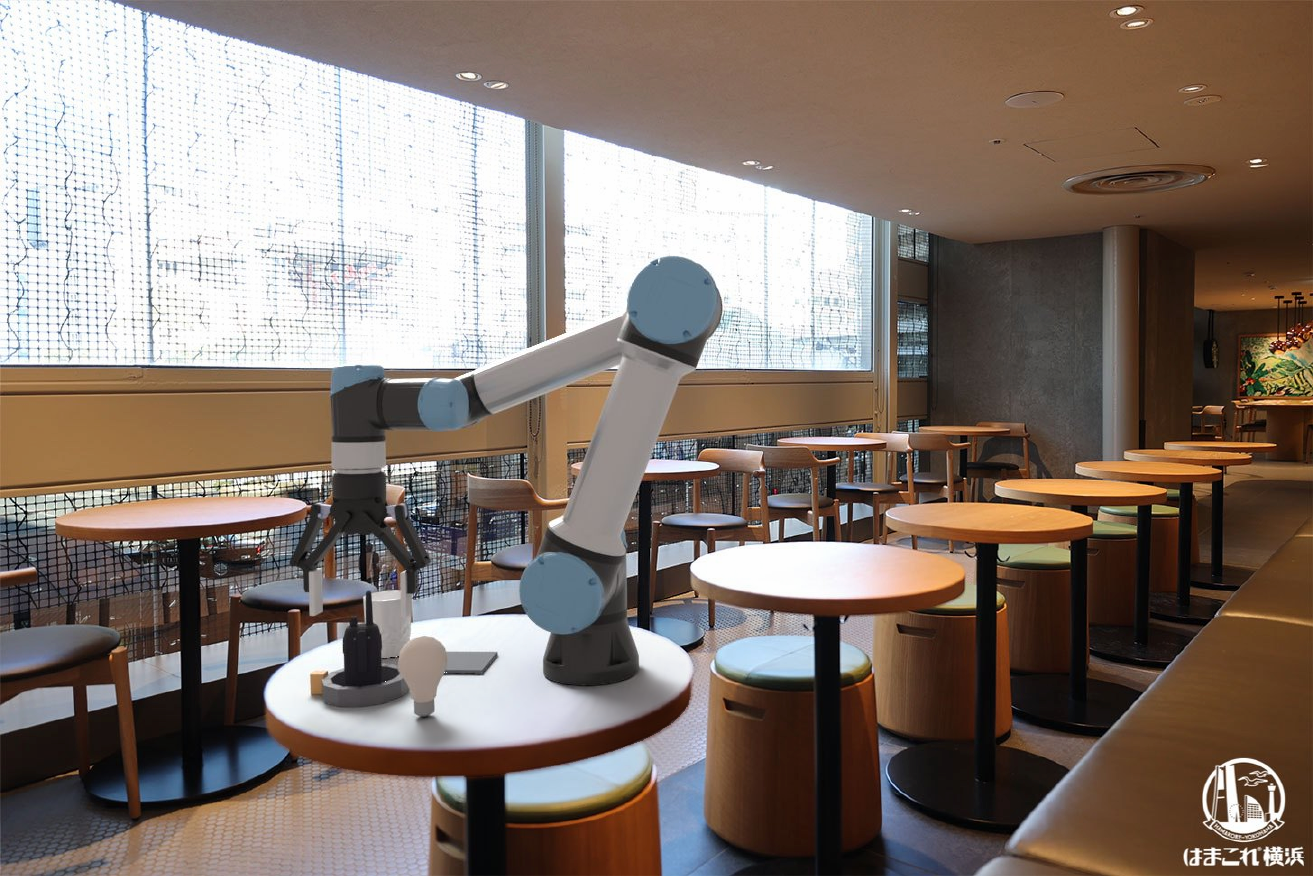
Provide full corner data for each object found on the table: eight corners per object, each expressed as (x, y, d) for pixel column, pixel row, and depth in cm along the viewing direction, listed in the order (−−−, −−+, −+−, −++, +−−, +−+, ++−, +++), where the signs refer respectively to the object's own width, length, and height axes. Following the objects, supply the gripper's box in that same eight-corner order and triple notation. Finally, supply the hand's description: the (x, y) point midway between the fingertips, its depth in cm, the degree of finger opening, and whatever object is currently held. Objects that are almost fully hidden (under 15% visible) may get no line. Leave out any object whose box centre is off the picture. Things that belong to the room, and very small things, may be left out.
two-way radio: (383, 686, 132) (380, 587, 131) (383, 695, 128) (380, 594, 127) (344, 690, 130) (341, 590, 130) (343, 700, 126) (339, 597, 125)
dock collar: (418, 680, 135) (418, 660, 135) (390, 707, 123) (390, 686, 123) (330, 679, 136) (330, 660, 135) (294, 706, 124) (293, 685, 124)
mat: (497, 655, 147) (497, 651, 147) (482, 674, 137) (481, 670, 137) (439, 655, 148) (439, 651, 148) (419, 673, 138) (419, 669, 138)
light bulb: (405, 709, 122) (402, 631, 122) (452, 707, 122) (450, 629, 122) (394, 726, 115) (391, 644, 115) (444, 724, 116) (442, 642, 115)
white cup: (420, 647, 153) (418, 590, 152) (402, 660, 145) (400, 600, 145) (376, 646, 154) (375, 590, 153) (356, 659, 146) (355, 600, 145)
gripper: (450, 469, 131) (452, 609, 132) (288, 468, 132) (291, 607, 133) (434, 473, 123) (436, 622, 124) (263, 472, 125) (266, 619, 126)
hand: (361, 614), depth 129 cm, fingers open, 13 cm apart
